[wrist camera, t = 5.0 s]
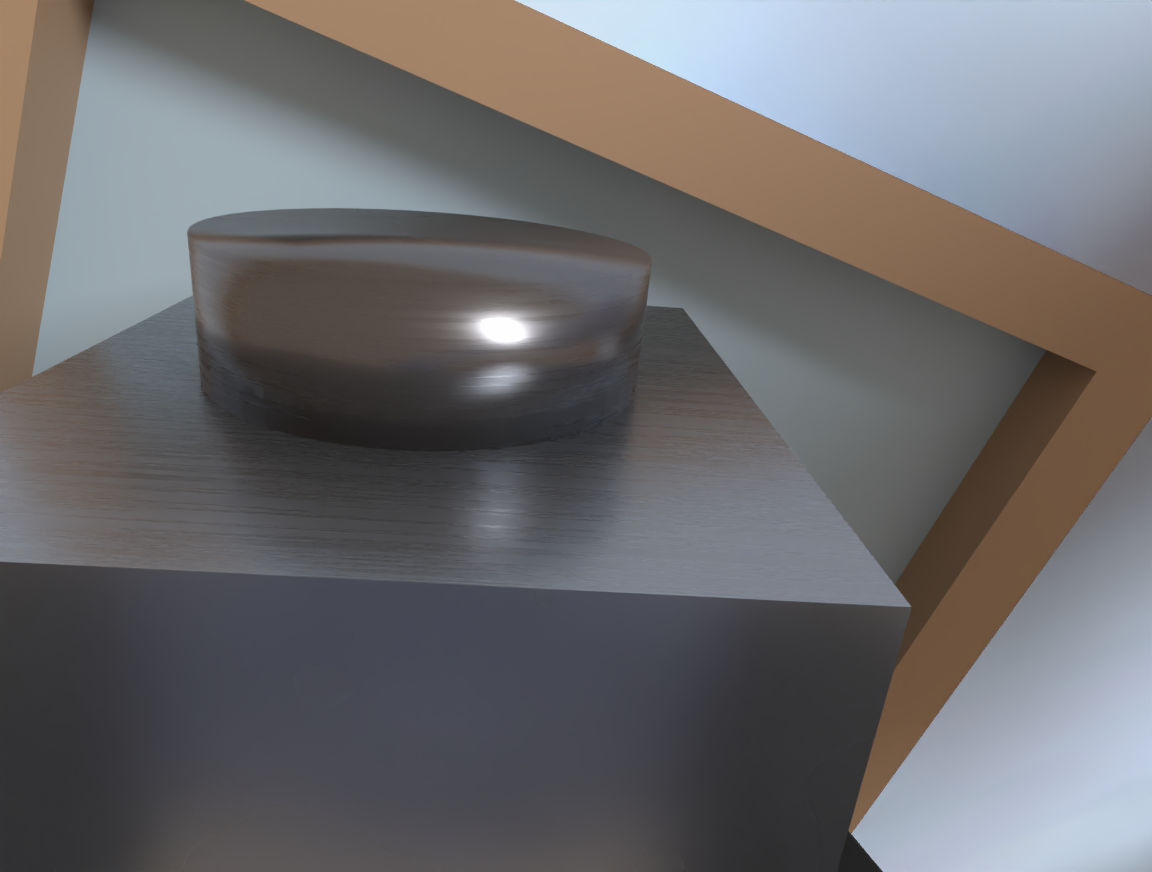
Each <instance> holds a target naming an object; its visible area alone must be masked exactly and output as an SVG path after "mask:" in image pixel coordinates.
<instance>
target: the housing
mask: <svg viewBox="0 0 1152 872" xmlns="http://www.w3.org/2000/svg"><path fill="white" fill-rule="evenodd" d="M187 237H188V248H189V259H190V270H191V281H192V292H193V295H192V296H190V297H188V298H186V299H184V300H182V301H180V302H178V303H176V304H174V305H172V306H170V307H168V308H166V309H165V310H163V311H161V312H159V313H157V314H155V315H153V316H151V317H149V318H147V319H145V320H143V321H141V322H139V323H137V324H135V325H133V326H131V327H129V328H127V329H125V330H123V331H121V332H119V333H117V334H115V335H114V336H112V337H110V338H108V339H106V340H104V341H102V342H100V343H98V344H96V345H94V346H92V347H90V348H88V349H86V350H84V351H82V352H80V353H78V354H76V355H74V356H72V357H70V358H68V359H66V360H64V361H63V362H61V363H59V364H57V365H55V366H53V367H51V368H49V369H47V370H45V371H43V372H41V373H39V374H37V375H35V376H33V377H31V378H29V379H27V380H25V381H23V382H21V383H19V384H17V385H15V386H14V387H12V388H10V389H8V390H6V391H4V392H2V393H0V872H837V869H838V865H839V862H840V858H841V855H842V851H843V848H844V844H845V841H846V837H847V834H848V830H849V827H850V823H851V820H852V816H853V813H854V809H855V806H856V802H857V799H858V795H859V791H860V788H861V784H862V781H863V777H864V774H865V770H866V767H867V763H868V760H869V756H870V753H871V749H872V746H873V742H874V739H875V735H876V732H877V728H878V725H879V721H880V717H881V714H882V710H883V707H884V703H885V700H886V696H887V693H888V689H889V686H890V682H891V679H892V675H893V672H894V668H895V665H896V661H897V658H898V654H899V651H900V647H901V643H902V640H903V636H904V633H905V629H906V626H907V622H908V619H909V615H910V612H911V608H912V607H911V605H910V604H909V603H908V602H907V600H906V599H905V598H904V596H903V595H902V594H901V592H900V591H899V590H898V589H897V587H896V586H895V585H894V583H893V582H892V581H891V579H890V578H889V577H888V575H887V574H886V573H885V572H884V570H883V569H882V568H881V566H880V565H879V564H878V562H877V561H876V560H875V558H874V557H873V556H872V555H871V553H870V552H869V551H868V549H867V548H866V547H865V545H864V544H863V543H862V541H861V540H860V539H859V538H858V536H857V535H856V534H855V532H854V531H853V530H852V528H851V527H850V526H849V525H848V523H847V522H846V521H845V519H844V518H843V517H842V515H841V514H840V513H839V511H838V510H837V509H836V508H835V506H834V505H833V504H832V502H831V501H830V500H829V498H828V497H827V496H826V494H825V493H824V492H823V491H822V489H821V488H820V487H819V485H818V484H817V483H816V481H815V480H814V479H813V478H812V476H811V475H810V474H809V472H808V471H807V470H806V468H805V467H804V466H803V464H802V463H801V462H800V461H799V459H798V458H797V457H796V455H795V454H794V453H793V451H792V450H791V449H790V447H789V446H788V445H787V444H786V442H785V441H784V440H783V438H782V437H781V436H780V434H779V433H778V432H777V430H776V429H775V428H774V427H773V425H772V424H771V423H770V421H769V420H768V419H767V417H766V416H765V415H764V414H763V412H762V411H761V410H760V408H759V407H758V406H757V404H756V403H755V402H754V400H753V399H752V398H751V397H750V395H749V394H748V393H747V391H746V390H745V389H744V387H743V386H742V385H741V383H740V382H739V381H738V380H737V378H736V377H735V376H734V374H733V373H732V372H731V370H730V369H729V368H728V367H727V365H726V364H725V363H724V361H723V360H722V359H721V357H720V356H719V355H718V353H717V352H716V351H715V350H714V348H713V347H712V346H711V344H710V343H709V342H708V340H707V339H706V338H705V336H704V335H703V334H702V333H701V331H700V330H699V329H698V327H697V326H696V325H695V323H694V322H693V321H692V319H691V318H690V317H689V316H688V314H687V313H686V312H685V310H684V309H683V308H672V307H659V306H647V297H648V289H649V281H650V272H651V264H652V259H651V257H650V255H649V254H648V253H646V252H645V251H644V250H642V249H640V248H638V247H636V246H633V245H631V244H628V243H626V242H623V241H620V240H616V239H613V238H609V237H606V236H602V235H598V234H594V233H589V232H584V231H580V230H575V229H569V228H564V227H559V226H552V225H546V224H540V223H533V222H526V221H519V220H511V219H503V218H495V217H485V216H476V215H465V214H454V213H441V212H427V211H411V210H390V209H361V208H305V209H279V210H263V211H251V212H242V213H233V214H227V215H221V216H216V217H212V218H208V219H204V220H202V221H199V222H196V223H194V224H193V225H191V226H190V227H189V228H188V231H187Z"/></svg>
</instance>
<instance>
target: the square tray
mask: <svg viewBox="0 0 1152 872" xmlns="http://www.w3.org/2000/svg"><path fill="white" fill-rule="evenodd" d="M305 208H361V209H390V210H411V211H427V212H441V213H454V214H465V215H476V216H485V217H495V218H503V219H511V220H519V221H526V222H533V223H540V224H546V225H552V226H559V227H564V228H569V229H575V230H580V231H584V232H589V233H594V234H598V235H602V236H606V237H609V238H613V239H616V240H620V241H623V242H626V243H628V244H631V245H633V246H636V247H638V248H640V249H642V250H644V251H645V252H646V253H648V254H649V255H650V257H651V259H652V264H651V272H650V281H649V289H648V297H647V306H659V307H672V308H683V309H684V310H685V312H686V313H687V314H688V316H689V317H690V318H691V319H692V321H693V322H694V323H695V325H696V326H697V327H698V329H699V330H700V331H701V333H702V334H703V335H704V336H705V338H706V339H707V340H708V342H709V343H710V344H711V346H712V347H713V348H714V350H715V351H716V352H717V353H718V355H719V356H720V357H721V359H722V360H723V361H724V363H725V364H726V365H727V367H728V368H729V369H730V370H731V372H732V373H733V374H734V376H735V377H736V378H737V380H738V381H739V382H740V383H741V385H742V386H743V387H744V389H745V390H746V391H747V393H748V394H749V395H750V397H751V398H752V399H753V400H754V402H755V403H756V404H757V406H758V407H759V408H760V410H761V411H762V412H763V414H764V415H765V416H766V417H767V419H768V420H769V421H770V423H771V424H772V425H773V427H774V428H775V429H776V430H777V432H778V433H779V434H780V436H781V437H782V438H783V440H784V441H785V442H786V444H787V445H788V446H789V447H790V449H791V450H792V451H793V453H794V454H795V455H796V457H797V458H798V459H799V461H800V462H801V463H802V464H803V466H804V467H805V468H806V470H807V471H808V472H809V474H810V475H811V476H812V478H813V479H814V480H815V481H816V483H817V484H818V485H819V487H820V488H821V489H822V491H823V492H824V493H825V494H826V496H827V497H828V498H829V500H830V501H831V502H832V504H833V505H834V506H835V508H836V509H837V510H838V511H839V513H840V514H841V515H842V517H843V518H844V519H845V521H846V522H847V523H848V525H849V526H850V527H851V528H852V530H853V531H854V532H855V534H856V535H857V536H858V538H859V539H860V540H861V541H862V543H863V544H864V545H865V547H866V548H867V549H868V551H869V552H870V553H871V555H872V556H873V557H874V558H875V560H876V561H877V562H878V564H879V565H880V566H881V568H882V569H883V570H884V572H885V573H886V574H887V575H888V577H889V578H890V579H891V581H892V582H893V583H894V585H895V586H896V587H897V589H898V590H899V591H900V592H901V594H902V595H903V596H904V598H905V599H906V600H907V602H908V603H909V604H910V605H911V607H912V608H911V612H910V615H909V619H908V622H907V626H906V629H905V633H904V636H903V640H902V643H901V647H900V651H899V654H898V658H897V661H896V665H895V668H894V672H893V675H892V679H891V682H890V686H889V689H888V693H887V696H886V700H885V703H884V707H883V710H882V714H881V717H880V721H879V725H878V728H877V732H876V735H875V739H874V742H873V746H872V749H871V753H870V756H869V760H868V763H867V767H866V770H865V774H864V777H863V781H862V784H861V788H860V791H859V795H858V799H857V802H856V806H855V809H854V813H853V816H852V820H851V823H850V827H849V830H848V831H849V832H850V833H852V832H853V830H854V829H855V828H856V826H857V825H858V824H859V822H860V821H861V819H862V818H863V817H864V815H865V814H866V812H867V811H868V810H869V808H870V807H871V805H872V804H873V803H874V801H875V800H876V799H877V797H878V796H879V794H880V793H881V792H882V790H883V789H884V787H885V786H886V785H887V783H888V782H889V781H890V779H891V778H892V776H893V775H894V774H895V772H896V771H897V769H898V768H899V767H900V765H901V764H902V762H903V761H904V760H905V758H906V757H907V756H908V754H909V753H910V751H911V750H912V749H913V747H914V746H915V744H916V743H917V742H918V740H919V739H920V737H921V736H922V735H923V733H924V732H925V731H926V729H927V728H928V726H929V725H930V724H931V722H932V721H933V719H934V718H935V717H936V715H937V714H938V712H939V711H940V710H941V708H942V707H943V706H944V704H945V703H946V701H947V700H948V699H949V697H950V696H951V694H952V693H953V692H954V690H955V689H956V688H957V686H958V685H959V683H960V682H961V681H962V679H963V678H964V676H965V675H966V674H967V672H968V671H969V669H970V668H971V667H972V665H973V664H974V663H975V661H976V660H977V658H978V657H979V656H980V654H981V653H982V651H983V650H984V649H985V647H986V646H987V644H988V643H989V642H990V640H991V639H992V638H993V636H994V635H995V633H996V632H997V631H998V629H999V628H1000V626H1001V625H1002V624H1003V622H1004V621H1005V620H1006V618H1007V617H1008V615H1009V614H1010V613H1011V611H1012V610H1013V608H1014V607H1015V606H1016V604H1017V603H1018V601H1019V600H1020V599H1021V597H1022V596H1023V595H1024V593H1025V592H1026V590H1027V589H1028V588H1029V586H1030V585H1031V583H1032V582H1033V581H1034V579H1035V578H1036V576H1037V575H1038V574H1039V572H1040V571H1041V570H1042V568H1043V567H1044V565H1045V564H1046V563H1047V561H1048V560H1049V558H1050V557H1051V556H1052V554H1053V553H1054V552H1055V550H1056V549H1057V547H1058V546H1059V545H1060V543H1061V542H1062V540H1063V539H1064V538H1065V536H1066V535H1067V533H1068V532H1069V531H1070V529H1071V528H1072V527H1073V525H1074V524H1075V522H1076V521H1077V520H1078V518H1079V517H1080V515H1081V514H1082V513H1083V511H1084V510H1085V508H1086V507H1087V506H1088V504H1089V503H1090V502H1091V500H1092V499H1093V497H1094V496H1095V495H1096V493H1097V492H1098V490H1099V489H1100V488H1101V486H1102V485H1103V483H1104V482H1105V481H1106V479H1107V478H1108V477H1109V475H1110V474H1111V472H1112V471H1113V470H1114V468H1115V467H1116V465H1117V464H1118V463H1119V461H1120V460H1121V459H1122V457H1123V456H1124V454H1125V453H1126V452H1127V450H1128V449H1129V447H1130V446H1131V445H1132V443H1133V442H1134V440H1135V439H1136V438H1137V436H1138V435H1139V434H1140V432H1141V431H1142V429H1143V428H1144V427H1145V425H1146V424H1147V422H1148V421H1149V420H1150V418H1151V417H1152V296H1151V295H1149V294H1147V293H1145V292H1142V291H1140V290H1138V289H1136V288H1134V287H1132V286H1129V285H1127V284H1125V283H1123V282H1121V281H1119V280H1116V279H1114V278H1112V277H1110V276H1108V275H1106V274H1104V273H1101V272H1099V271H1097V270H1095V269H1093V268H1091V267H1088V266H1086V265H1084V264H1082V263H1080V262H1078V261H1075V260H1073V259H1071V258H1069V257H1067V256H1065V255H1063V254H1060V253H1058V252H1056V251H1054V250H1052V249H1050V248H1047V247H1045V246H1043V245H1041V244H1039V243H1037V242H1034V241H1032V240H1030V239H1028V238H1026V237H1024V236H1022V235H1019V234H1017V233H1015V232H1013V231H1011V230H1009V229H1006V228H1004V227H1002V226H1000V225H998V224H996V223H993V222H991V221H989V220H987V219H985V218H983V217H981V216H978V215H976V214H974V213H972V212H970V211H968V210H965V209H963V208H961V207H959V206H957V205H955V204H952V203H950V202H948V201H946V200H944V199H942V198H940V197H937V196H935V195H933V194H931V193H929V192H927V191H924V190H922V189H920V188H918V187H916V186H914V185H911V184H909V183H907V182H905V181H903V180H901V179H899V178H896V177H894V176H892V175H890V174H888V173H886V172H883V171H881V170H879V169H877V168H875V167H873V166H870V165H868V164H866V163H864V162H862V161H860V160H858V159H855V158H853V157H851V156H849V155H847V154H845V153H842V152H840V151H838V150H836V149H834V148H832V147H830V146H827V145H825V144H823V143H821V142H819V141H817V140H814V139H812V138H810V137H808V136H806V135H804V134H801V133H799V132H797V131H795V130H793V129H791V128H789V127H786V126H784V125H782V124H780V123H778V122H776V121H773V120H771V119H769V118H767V117H765V116H763V115H760V114H758V113H756V112H754V111H752V110H750V109H748V108H745V107H743V106H741V105H739V104H737V103H735V102H732V101H730V100H728V99H726V98H724V97H722V96H719V95H717V94H715V93H713V92H711V91H709V90H707V89H704V88H702V87H700V86H698V85H696V84H694V83H691V82H689V81H687V80H685V79H683V78H681V77H678V76H676V75H674V74H672V73H670V72H668V71H666V70H663V69H661V68H659V67H657V66H655V65H653V64H650V63H648V62H646V61H644V60H642V59H640V58H637V57H635V56H633V55H631V54H629V53H627V52H625V51H622V50H620V49H618V48H616V47H614V46H612V45H609V44H607V43H605V42H603V41H601V40H599V39H596V38H594V37H592V36H590V35H588V34H586V33H584V32H581V31H579V30H577V29H575V28H573V27H571V26H568V25H566V24H564V23H562V22H560V21H558V20H555V19H553V18H551V17H549V16H547V15H545V14H543V13H540V12H538V11H536V10H534V9H532V8H530V7H527V6H525V5H523V4H521V3H519V2H517V1H514V0H0V393H2V392H4V391H6V390H8V389H10V388H12V387H14V386H15V385H17V384H19V383H21V382H23V381H25V380H27V379H29V378H31V377H33V376H35V375H37V374H39V373H41V372H43V371H45V370H47V369H49V368H51V367H53V366H55V365H57V364H59V363H61V362H63V361H64V360H66V359H68V358H70V357H72V356H74V355H76V354H78V353H80V352H82V351H84V350H86V349H88V348H90V347H92V346H94V345H96V344H98V343H100V342H102V341H104V340H106V339H108V338H110V337H112V336H114V335H115V334H117V333H119V332H121V331H123V330H125V329H127V328H129V327H131V326H133V325H135V324H137V323H139V322H141V321H143V320H145V319H147V318H149V317H151V316H153V315H155V314H157V313H159V312H161V311H163V310H165V309H166V308H168V307H170V306H172V305H174V304H176V303H178V302H180V301H182V300H184V299H186V298H188V297H190V296H192V295H193V292H192V281H191V270H190V259H189V248H188V237H187V231H188V228H189V227H190V226H191V225H193V224H194V223H196V222H199V221H202V220H204V219H208V218H212V217H216V216H221V215H227V214H233V213H242V212H251V211H263V210H279V209H305Z"/></svg>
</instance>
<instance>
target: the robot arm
mask: <svg viewBox="0 0 1152 872" xmlns="http://www.w3.org/2000/svg"><path fill="white" fill-rule="evenodd" d="M837 872H883V871H882V870H881V869H880V868H879V867H878V866H877V864H876V863H875V862H874V861H873V860H872V859H871V857H870V856H869V855H868V854H867V852H866V851H865V850H864V849H863V848H862V846H861V845H860V844H859V843H858V842H857V840H856V839H855V838H854V837H853V836H852V834H851V833H850V832H849V831H848V834H847V837H846V841H845V844H844V848H843V851H842V855H841V858H840V862H839V865H838V869H837Z"/></svg>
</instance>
